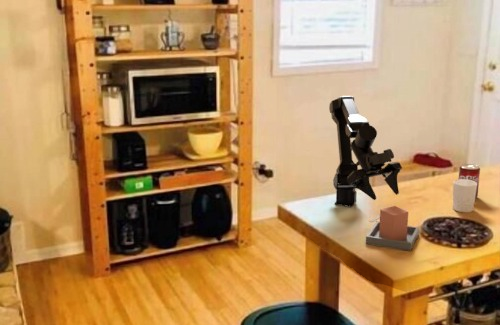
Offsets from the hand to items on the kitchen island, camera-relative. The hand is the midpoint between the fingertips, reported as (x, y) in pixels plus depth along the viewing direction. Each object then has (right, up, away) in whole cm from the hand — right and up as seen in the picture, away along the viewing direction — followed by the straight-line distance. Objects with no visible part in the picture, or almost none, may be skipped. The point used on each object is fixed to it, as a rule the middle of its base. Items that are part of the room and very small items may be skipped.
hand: (386, 196), depth 185 cm
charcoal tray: (+2, -13, 0) cm, 14 cm away
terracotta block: (+2, -13, 0) cm, 13 cm away
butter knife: (-3, -10, +14) cm, 18 cm away
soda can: (+39, -3, +37) cm, 54 cm away
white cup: (+33, -6, +25) cm, 42 cm away
